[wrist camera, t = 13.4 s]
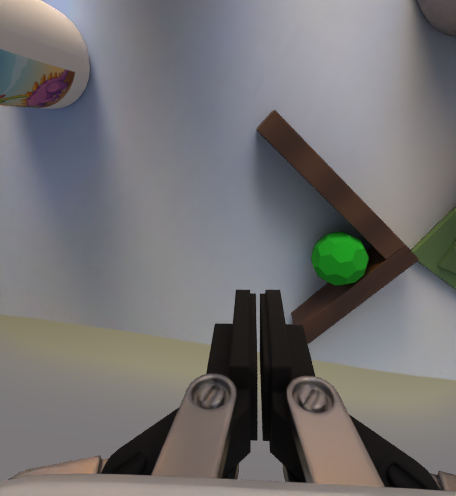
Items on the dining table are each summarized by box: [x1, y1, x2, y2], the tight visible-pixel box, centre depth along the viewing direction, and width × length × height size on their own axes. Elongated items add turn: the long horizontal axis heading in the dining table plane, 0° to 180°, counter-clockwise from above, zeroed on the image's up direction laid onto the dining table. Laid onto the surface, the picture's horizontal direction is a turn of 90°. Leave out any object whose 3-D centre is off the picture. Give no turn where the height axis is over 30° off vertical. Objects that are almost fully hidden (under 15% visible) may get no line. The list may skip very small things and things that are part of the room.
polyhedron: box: [311, 231, 369, 285], centre depth 29 cm, size 5×5×5 cm
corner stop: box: [257, 110, 419, 344], centre depth 30 cm, size 18×13×4 cm
